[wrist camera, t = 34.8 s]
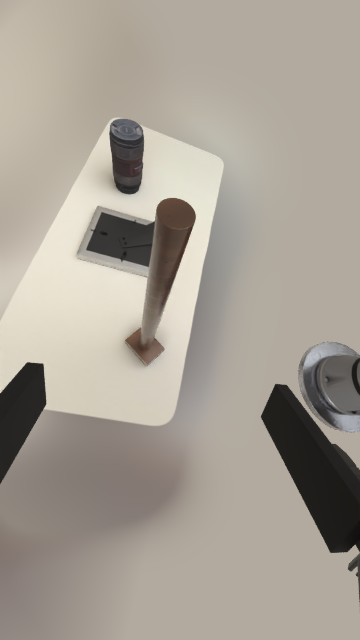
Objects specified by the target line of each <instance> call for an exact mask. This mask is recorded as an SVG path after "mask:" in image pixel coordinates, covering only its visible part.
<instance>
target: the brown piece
mask: <svg viewBox="0 0 360 640" xmlns="http://www.w3.org/2000/svg"><path fill="white" fill-rule="evenodd" d="M195 219H196V215H195V211H194V209H193V208H192V207H191V206H190V205H189V204H188V203H187V202H185V201H183V200H181V199H177V198H168V199H165V200H163V201H161V202H160V203H159V205H158V206H157V210H156V217H155V225H154V233H153V241H152V248H151V256H150V264H149V271H148V279H147V287H146V294H145V302H144V310H143V318H142V325H141V328H140V329H138V330H137V331H136V332H135V333H133V334H132V335H131V336H130V337H129V338H127V339H126V340H125V343H126V344H127V345H128V346H129V347H130V349H131V350H132V351H133V352H134V353H135V354H136V355H137V356H138V357H139V358H140V360H141V361H142V362H143V363H144V364H145V365H146V366H148V365H149V364H150V363H151V362H152V361H153V360H154V359H155V358H157V357H158V356H159V355H160V354H161V353H162V352H163V351H164V348H163V346H162V345H161V344H160V343H159V342H158V341H157V340H156V339H155V338H154V337H155V334H156V331H157V328H158V325H159V322H160V320H161V317H162V314H163V311H164V308H165V305H166V302H167V300H168V297H169V294H170V291H171V288H172V285H173V283H174V280H175V277H176V274H177V271H178V268H179V265H180V263H181V260H182V257H183V254H184V251H185V248H186V245H187V243H188V240H189V237H190V234H191V231H192V228H193V225H194V223H195Z"/></svg>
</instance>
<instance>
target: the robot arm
mask: <svg viewBox="0 0 360 640" xmlns="http://www.w3.org/2000/svg"><path fill="white" fill-rule="evenodd" d="M316 379H317V385H318V389H319V391H320V394H321V396H322V397H323V399H324V400H325V402H326V403H327V404H328V405H329V406H330V407H331V408H332V409H333V410H335V411H336V412H338V413H340V414H343V415H352V416H358V415H360V357H359V356H350V355H346V354H336V355H332V356H328V357H326V358H324V359H323V360H322V361H321V363H320V364H319V366H318V369H317V374H316ZM45 405H46V392H45V379H44V365H43V364H40V363H29V362H27V363H26V364H25V366H24V367H23V368H22V369H21V370H20V371H19V372H18V374H17V375H16V376H15V377H14V378H13V379H12V381H11V382H10V383H9V384H8V385H7V386H6V388H5V389H4V390H3V391H2V392H1V393H0V483H1V482H2V480H3V478H4V476H5V475H6V473H7V471H8V470H9V468H10V466H11V464H12V463H13V461H14V459H15V457H16V456H17V454H18V452H19V450H20V449H21V447H22V445H23V444H24V442H25V440H26V438H27V437H28V435H29V433H30V431H31V429H32V428H33V426H34V424H35V423H36V421H37V419H38V417H39V416H40V414H41V412H42V411H43V409H44V407H45ZM261 418H262V420H263V422H264V424H265V426H266V428H267V430H268V432H269V434H270V436H271V438H272V440H273V442H274V444H275V446H276V448H277V450H278V451H279V453H280V455H281V457H282V459H283V461H284V463H285V465H286V467H287V469H288V471H289V473H290V475H291V477H292V478H293V480H294V483H295V484H296V486H297V488H298V490H299V492H300V494H301V496H302V498H303V500H304V502H305V504H306V506H307V508H308V510H309V512H310V514H311V516H312V517H313V519H314V521H315V523H316V525H317V527H318V529H319V531H320V533H321V535H322V537H323V539H324V541H325V543H326V545H327V547H328V549H329V551H330V552H331V553H339V552H348V551H349V550H350V549H351V548H352V547H353V546H354V545H356V546H357V548H358V550H359V551H360V470H359V468H357V467H356V465H355V463H354V462H353V461H352V460H351V458H350V457H349V456H348V455H347V454H346V453H345V452H344V451H343V450H342V449H341V448H340V447H339V446H337V445H336V444H331V442H330V441H329V440H328V439H327V437H326V436H325V435H324V433H323V432H322V431H321V429H320V428H319V427H318V425H317V424H316V423H315V422H314V420H313V419H312V418H311V417H310V415H309V414H308V412H307V411H306V410H305V408H304V407H303V406H302V404H301V403H300V402H299V400H298V399H297V398H296V397H295V395H294V394H293V393H292V391H291V390H290V389H289V387H288V386H287V385H280V384H275V386H274V388H273V391H272V393H271V395H270V397H269V400H268V402H267V404H266V406H265V409H264V411H263V413H262V415H261ZM357 566H358V572H357V573H356V576H358V581H359V599H360V554H359V555H358V556H357V557H356V558H354V559H353V560H352V561H351V562H350V563H349V566H348V570H349V571H352V570H353V569H354V568H355V567H357Z"/></svg>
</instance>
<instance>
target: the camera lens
mask: <svg viewBox="0 0 360 640" xmlns="http://www.w3.org/2000/svg"><path fill="white" fill-rule="evenodd" d="M109 135H110V147H111V152H112V162H113V175H114V180H115V183H116V186H117V188H118V189H119V190H120V191H121V192H123V193H126V194H133V193H136V192H137V191H138V190H139V186H140V185H141V179H142V169H143V162H142V157H143V151H144V136H143V129H142V127H141V126H140V125H139V124H138V123H136V122H134V121H132V120H128V119H118V120H115V121H113V122H112V123H111V125H110V133H109Z"/></svg>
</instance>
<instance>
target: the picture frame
mask: <svg viewBox="0 0 360 640" xmlns="http://www.w3.org/2000/svg"><path fill="white" fill-rule="evenodd" d="M154 225H155V222H151V221H147V220H144V219H141V218H137V217H134V216H130V215H127V214H124V213H120V212H117V211H114V210H110V209H107V208H104V207H100V206H97V208H96V210H95V213H94V215H93V217H92V220H91V222H90V224H89V227H88V229H87V231H86V233H85V236H84V238H83V240H82V243H81V245H80V247H79V250H78V252H77V256H78V259H81V260H85V261H89V262H92V263H96V264H100V265H104V266H108V267H111V268H115V269H119V270H123V271H126V272H130V273H134V274H138V275H141V276H145V277H148V271H149V264H150V256H151V248H152V241H153V233H154Z"/></svg>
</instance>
